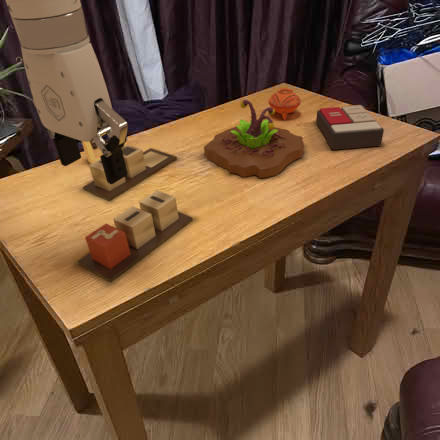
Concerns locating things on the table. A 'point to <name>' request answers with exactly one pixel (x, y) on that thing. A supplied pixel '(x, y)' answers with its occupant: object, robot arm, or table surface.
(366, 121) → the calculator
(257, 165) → the plant
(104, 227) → the letter block
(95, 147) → the beer glass
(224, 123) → the table surface
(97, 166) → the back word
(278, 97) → the pot
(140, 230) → the front word
